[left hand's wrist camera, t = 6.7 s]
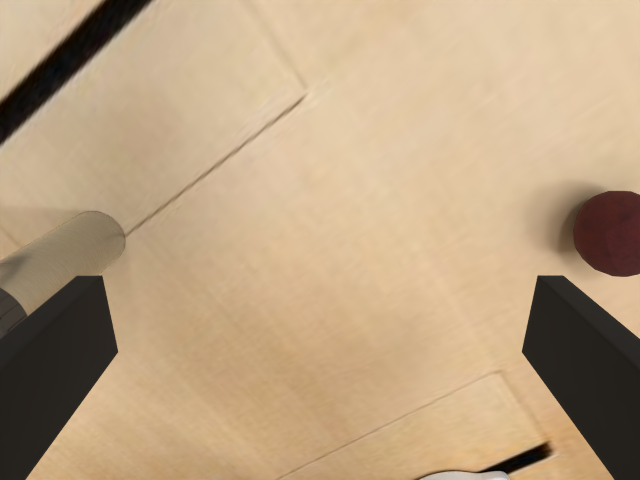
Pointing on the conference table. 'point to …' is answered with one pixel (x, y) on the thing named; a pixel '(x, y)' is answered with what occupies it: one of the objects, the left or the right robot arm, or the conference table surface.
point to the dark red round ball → (610, 233)
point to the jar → (61, 258)
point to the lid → (9, 312)
